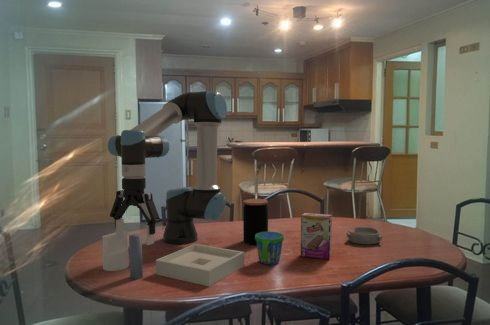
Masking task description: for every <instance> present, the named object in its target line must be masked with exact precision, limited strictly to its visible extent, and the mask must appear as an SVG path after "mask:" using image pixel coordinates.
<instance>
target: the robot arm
mask: <svg viewBox="0 0 490 325" xmlns="http://www.w3.org/2000/svg"><path fill="white" fill-rule="evenodd" d="M227 113H228V105H227V102H226V100H225V97H224V96H223V94H222V93H220V91H212V90H211V91H210V90H207V91H206V90H205V91H192V92H190V91H188V92H185V93H182V94H179V95H177V96H175V97H174V98H172V99H170V100H169V101H167V102H166V103H164V104H163V106H162V108H161V109H160V110H158V111H157V112H155V113H153V114H152V115H150V116H149V117H147V118H146V119H144V120H142V122H141V123H138V124H137V125H135V126H134V127H133V128H131V129H123V130H122V131H121V135H119V134H117V135H112V136H111V137H110V138H108V141H107V150H108V151H109V153H110V155H112V156H114V157H121V177H123V178H122V179H121V190H116V192H115V198H114V202H113V205H112V207H111V211H110V214H109V217H110V218H113V220H114V228H115V232H116V239H121V238H124V231H125V229H124V228H125V226H124V222H125V221H124V220H125V219H124V218H123V216H124V214H125V213H126V212H127V211H128V209H129V207H130V206H133V207H136V208H137V209H139V212H141V214H142V216H143V218H144V219H145V220H146V222H147V223H146V225H145V232H146V234H145V237H146V238H145V239H146V240H145V241H146V243H145V244H146V246H149V245H152V244H153V245H154V244H155V234H156V224H157V223H160V222H161V218H160V216H159V213H158V210H157V207H156V205H155V202H154V199H153V198H154V196H153V193H152V192H146V193H145V189H146V188H147V187H146V184H147V183H146V178H145V177H146V159H147V158H148V159H151V158H161V157H165V156H167V155H168V154H169V151H170V142H169V140H168V139H167V137H166V136H162V135H160V134H161V133H162V132H164V131H165V130H167V129H168V128H169V127H170V126H172V125H174V124H178V123H180V122H181V121H187V120H193V124H194V125H195V127H196V128H197V129H196V184H195V185H194V186H193V187H192V186H183V187H177V188H176V187H175V188H172V189H168V190H167V191H166V194H165V198H166V199H165V204H166V205H165V206H166V210H165V211H166V225H165V227H164V230H163V231H164V232H163V235H162V240H163V242H164V243H166V244H171V245H183V244H191V243H194V242H196V241H198V238H199V236H198V232H197V230H196V225H195V223H194V219H200V220H206V221H215V220H218V219H219V218H220V217H222V215H223V214H224V211H225V209H226V201H227V200H226V197H225V196H226V195H225V194H224V193H223V192H221V187H220V186H219V185H218V128H219V127H220V126H221V125H222V120H224V119H225V118H227V117H226V116H227Z"/></svg>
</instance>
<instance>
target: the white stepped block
mask: <svg viewBox="0 0 490 325" xmlns="http://www.w3.org/2000/svg"><path fill="white" fill-rule="evenodd" d="M101 236H102V238H101V239H102V251H101V253H102V254H101V256H102V269H103V270H104V271H107V272H118V271H122V270H125V269H128V268H130V249H129V248H128V231H125V230H124V238H121V239H116V231H115V232H113V233H109V234H105V235H101Z"/></svg>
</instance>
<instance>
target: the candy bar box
mask: <svg viewBox="0 0 490 325" xmlns="http://www.w3.org/2000/svg"><path fill="white" fill-rule="evenodd" d="M300 220H301V221H300V224H301V226H300V257H302V258H311V259H319V260H320V259H321V260H330V258H331V257H332V235H333V234H332V233H333V231H332V229H333V228H332V227H333V215H332V214H323V213H309V212H303V213H302V214H301V215H300Z"/></svg>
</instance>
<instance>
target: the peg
mask: <svg viewBox="0 0 490 325" xmlns="http://www.w3.org/2000/svg"><path fill="white" fill-rule="evenodd" d="M142 237H143V236H142V234H137V233H135V234H134V233H133V234H130V235H129V237H128V240H129V242H128V243H129V244H128V245H129V248H128V249H129V270H130V271H129V276H130V277H129V278H130V279H132V280H139V279H140V280H141V279H142V278H143V277H144V272H143V268H144V267H143V240H142V239H143V238H142Z"/></svg>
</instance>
